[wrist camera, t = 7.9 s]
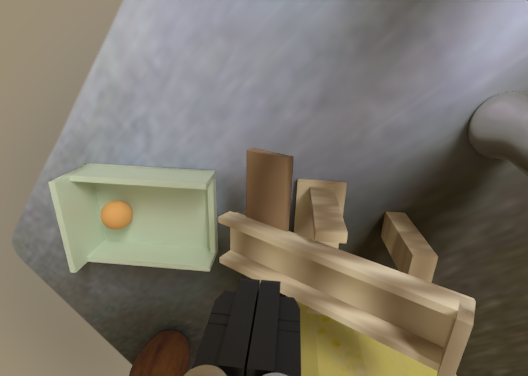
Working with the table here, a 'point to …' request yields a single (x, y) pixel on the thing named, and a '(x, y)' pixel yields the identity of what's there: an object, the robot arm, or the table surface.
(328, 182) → the fulcrum
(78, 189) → the tray
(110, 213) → the ball
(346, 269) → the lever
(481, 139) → the beer glass
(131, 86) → the table surface
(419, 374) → the cheese
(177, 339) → the wooden figurine
